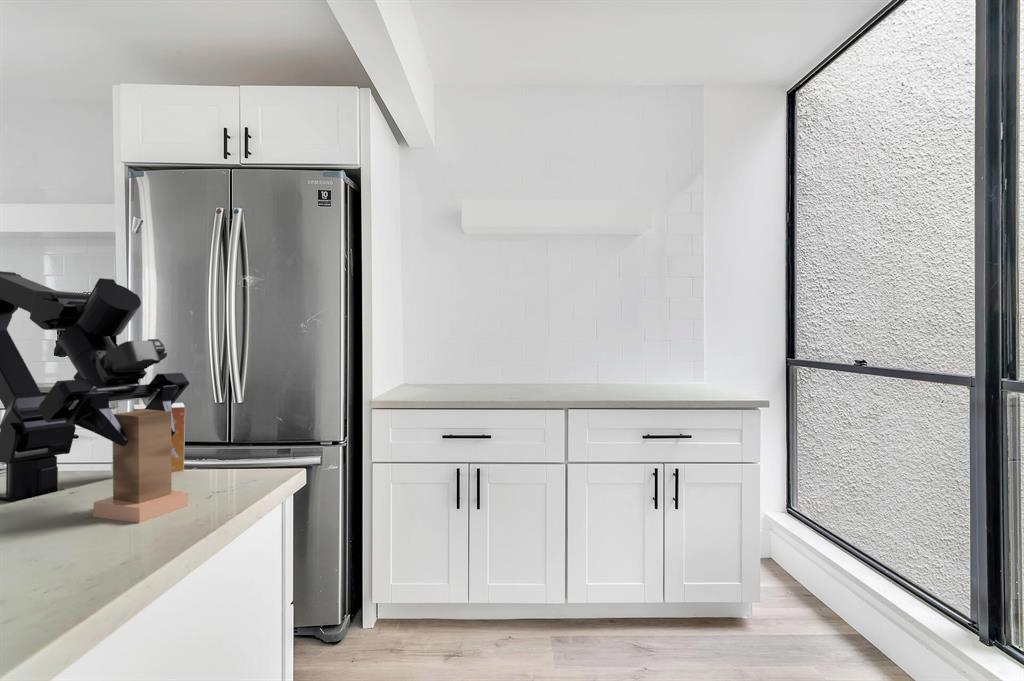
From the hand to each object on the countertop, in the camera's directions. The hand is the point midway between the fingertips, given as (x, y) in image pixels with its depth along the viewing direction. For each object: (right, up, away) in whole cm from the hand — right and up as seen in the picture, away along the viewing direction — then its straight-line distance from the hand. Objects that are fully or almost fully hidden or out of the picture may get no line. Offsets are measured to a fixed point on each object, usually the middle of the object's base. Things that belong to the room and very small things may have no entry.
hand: (150, 439), depth 81 cm
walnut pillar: (-1, -8, +1) cm, 8 cm away
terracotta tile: (-1, -10, +1) cm, 10 cm away
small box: (-13, -11, +23) cm, 29 cm away
